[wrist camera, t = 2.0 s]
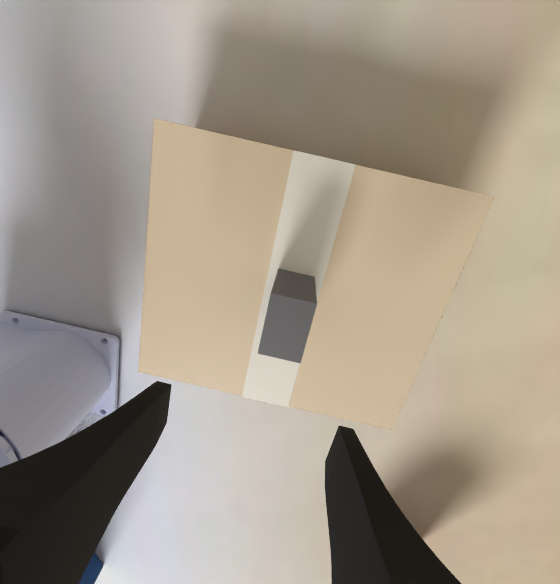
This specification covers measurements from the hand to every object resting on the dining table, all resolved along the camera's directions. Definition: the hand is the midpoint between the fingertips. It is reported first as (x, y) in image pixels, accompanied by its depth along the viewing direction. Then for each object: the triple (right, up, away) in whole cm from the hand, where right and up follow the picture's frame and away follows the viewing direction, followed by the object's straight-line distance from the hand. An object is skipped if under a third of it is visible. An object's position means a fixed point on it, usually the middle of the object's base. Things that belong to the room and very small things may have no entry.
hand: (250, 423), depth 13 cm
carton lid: (+2, +5, +5) cm, 7 cm away
